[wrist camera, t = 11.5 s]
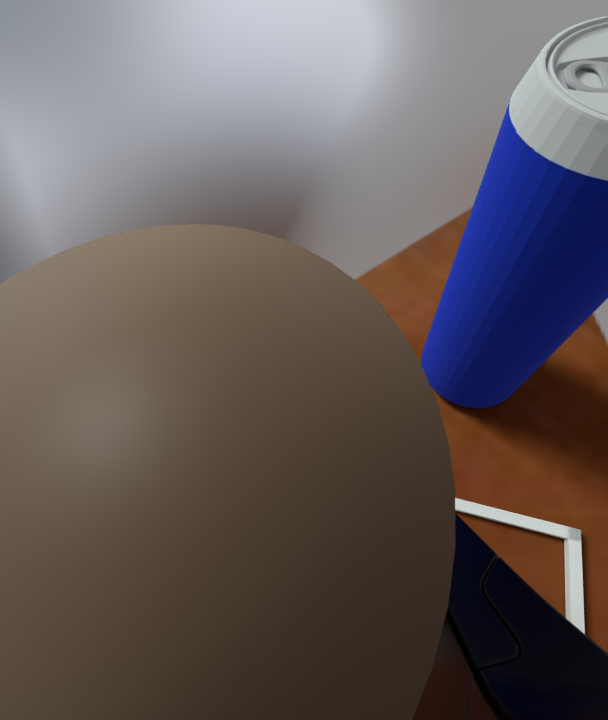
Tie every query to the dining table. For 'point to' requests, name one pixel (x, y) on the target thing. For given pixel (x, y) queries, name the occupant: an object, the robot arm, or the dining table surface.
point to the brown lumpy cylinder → (215, 487)
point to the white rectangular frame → (567, 533)
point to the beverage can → (531, 230)
